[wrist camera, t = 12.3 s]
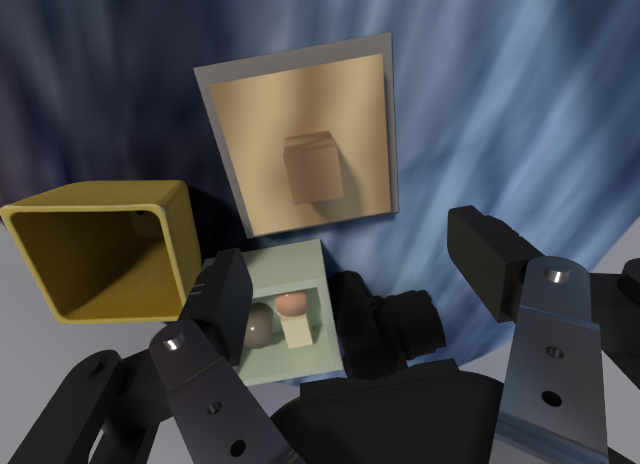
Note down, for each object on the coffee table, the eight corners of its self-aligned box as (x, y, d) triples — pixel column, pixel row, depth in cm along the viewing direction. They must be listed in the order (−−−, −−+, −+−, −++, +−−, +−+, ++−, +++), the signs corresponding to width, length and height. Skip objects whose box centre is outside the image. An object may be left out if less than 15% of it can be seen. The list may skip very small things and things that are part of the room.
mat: (389, 32, 22) (391, 31, 22) (397, 210, 29) (398, 211, 28) (194, 68, 22) (193, 68, 22) (247, 237, 29) (247, 238, 29)
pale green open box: (319, 238, 30) (325, 277, 24) (335, 322, 35) (342, 369, 30) (205, 259, 30) (186, 301, 24) (238, 339, 35) (228, 389, 30)
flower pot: (121, 254, 29) (56, 327, 21) (88, 160, 25) (-8, 207, 17) (218, 251, 29) (191, 321, 22) (203, 159, 25) (162, 204, 17)
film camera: (430, 345, 38) (466, 419, 30) (353, 365, 39) (369, 443, 31) (413, 243, 31) (454, 306, 23) (319, 271, 31) (328, 341, 24)
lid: (375, 54, 22) (406, 51, 16) (384, 202, 28) (410, 241, 22) (215, 83, 22) (186, 91, 16) (256, 224, 28) (246, 270, 22)
